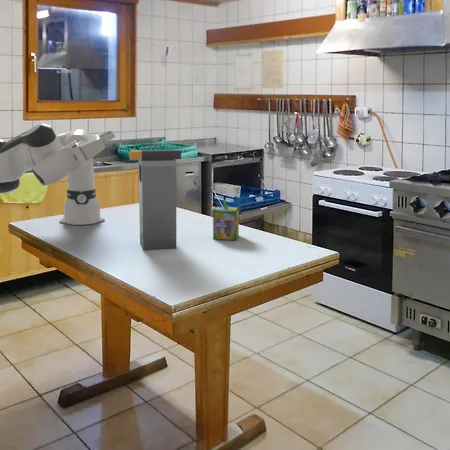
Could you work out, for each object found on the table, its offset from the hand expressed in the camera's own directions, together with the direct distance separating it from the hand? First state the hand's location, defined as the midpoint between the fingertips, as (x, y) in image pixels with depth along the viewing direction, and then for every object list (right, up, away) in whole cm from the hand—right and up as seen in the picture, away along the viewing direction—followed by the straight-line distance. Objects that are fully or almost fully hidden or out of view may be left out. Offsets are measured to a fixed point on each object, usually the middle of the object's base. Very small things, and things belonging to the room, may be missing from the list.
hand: (112, 133), depth 200 cm
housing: (+14, -39, +13) cm, 44 cm away
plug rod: (+14, -8, +6) cm, 17 cm away
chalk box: (+39, -37, +28) cm, 60 cm away
